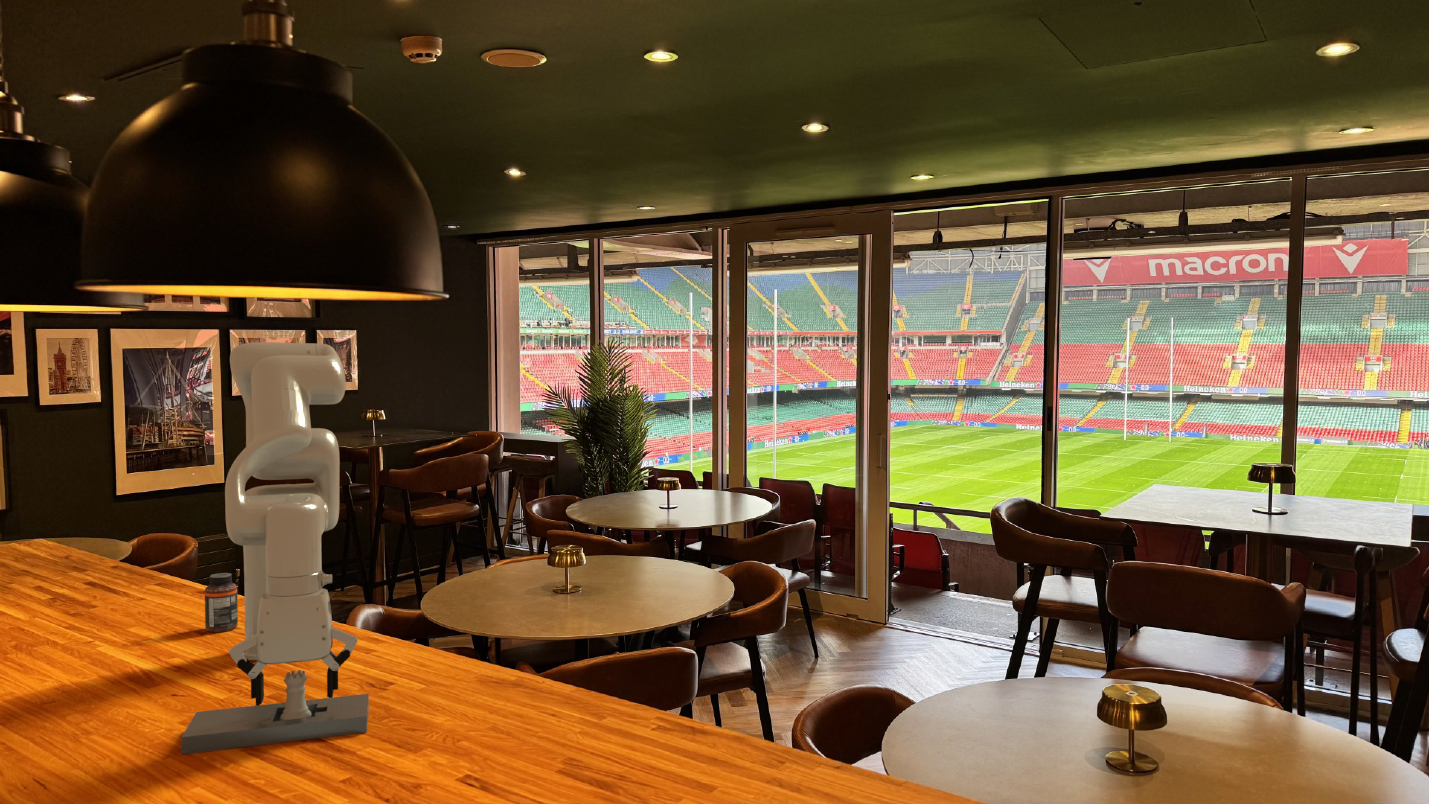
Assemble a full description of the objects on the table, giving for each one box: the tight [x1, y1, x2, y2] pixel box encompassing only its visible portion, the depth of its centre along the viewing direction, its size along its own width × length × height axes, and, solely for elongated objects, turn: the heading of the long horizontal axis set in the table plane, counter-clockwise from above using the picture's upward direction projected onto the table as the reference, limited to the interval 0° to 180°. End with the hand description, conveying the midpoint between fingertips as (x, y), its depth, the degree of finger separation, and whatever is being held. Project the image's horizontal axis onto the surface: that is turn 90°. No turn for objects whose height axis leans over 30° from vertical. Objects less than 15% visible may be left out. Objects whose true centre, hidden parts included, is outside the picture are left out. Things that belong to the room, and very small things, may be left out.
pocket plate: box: [180, 693, 370, 755], centre depth 135 cm, size 10×24×2 cm, turn 109°
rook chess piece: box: [280, 669, 312, 721], centre depth 135 cm, size 4×4×8 cm
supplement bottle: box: [204, 572, 239, 633], centre depth 188 cm, size 6×6×11 cm
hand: (295, 698), depth 135 cm, fingers open, 9 cm apart
